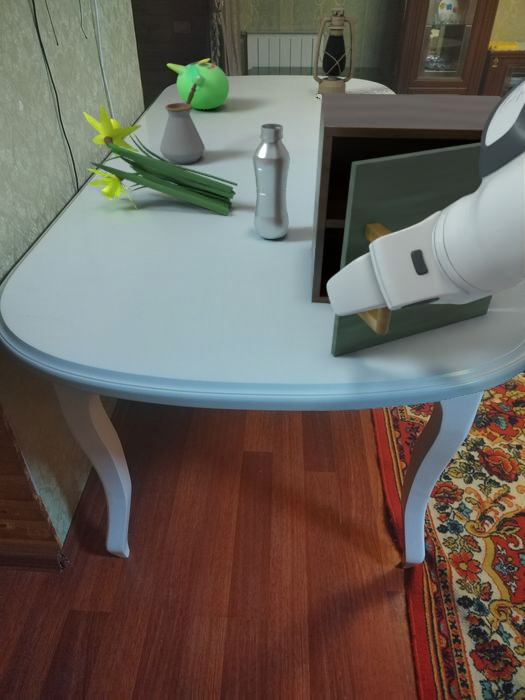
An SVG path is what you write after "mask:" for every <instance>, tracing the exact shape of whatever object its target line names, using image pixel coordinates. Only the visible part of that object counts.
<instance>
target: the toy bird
mask: <svg viewBox="0 0 525 700" xmlns="http://www.w3.org/2000/svg"><path fill="white" fill-rule="evenodd" d="M209 61H211V58H205V59H202V60H199V61H194V62H191V63H189V64H187V65H182V64H181V65H180V64H176V63H167V64H166V66H167V67H168V68H169V69H170V70H172V71H173V72H175V73H177V74H178V75H177V78H176V79H177V80H176V89H177V93H178V95H179V96H180V99H181V100H182V101H183V103H187V99H188V96H189V93H190V92H191V88H192V86H193V85H194V84H195V83H196V84H197V85H199V86H200V87H199V86H196V88H195V89H196V90H199V89H200V90H199V91H195V92H194V97H193V99H192V101H191V103H190V105H191V106H192V109H197V110H201V109H203V111H204V110H205V109H207V110H213V109H215V108H218V107H219V106H221V105H222V104H223V103H224V102H225V101H226V99H227V97H228V95H229V92H230V82H229V79H228V77H227V74H226V73H225V72H224V71H223V69H222V68H221V67H219V66H218V65H216V64H215V63H212V62H209ZM205 111H206V110H205Z"/></svg>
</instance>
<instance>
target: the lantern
mask: <svg viewBox="0 0 525 700" xmlns="http://www.w3.org/2000/svg"><path fill="white" fill-rule="evenodd" d="M342 1H343V0H341V1H340V4H342ZM330 11H331V15H330V16H327V17H324V18H323V17H321V16H319V17H318V18H317V22H318V25H319V26H318V28H317V32H316V38H317V39H316V44H315V50H314V60H313V69H312V72H313V73H312V77H313V80H314V81H315V82H316V83H318V89H317V92H318V93H317V92H316V93H317V94H321V95H322V93H345V92H346V87H347V85H346V83H348V82H349V81H351V80H352V79H353V76H354V70H355V54H356V53H355V48H356V47H355V45H356V41H355V40H356V39H355V38H356V37H355V34H356V33H357V25H358V24H357V23H358V21H359V19H358V17H357V15H356V16H354V17H352V18H351V17H349V16H345V11H347V9H346V8H344V7H342V5H340V6H335V7H333V8H331V9H330ZM334 12H335V13H334ZM327 23H330V24H329V25H328V26H326V24H327ZM345 23H348V25H349V31H350V32H349V33H350V47H349V48H347V51H346V44H345V36H344V29H347V28H348V26H346V25H345ZM325 26H326V28H327V29H329V33H328V34H329V35H328V38H327V40H326V45H325V48H324V50H322V52H323V56H322V60H321V58H320V57H321V54H320V51H321V50H320V49H321V44H322V38H323V33H324V30H325V29H324V28H325ZM346 53H347V54H346ZM349 55H350V56H349ZM348 56H349V72H348V76H346V77H345V78H342V76H344V75H345V74H346V72H344V71H345V69H346V65H347V58H348ZM319 61H320V62H321V63H322V70H323V72H324V73H325V77H324V75H323V74H322V73H323V72H318V68H319ZM343 72H344V74H343ZM319 74H321V75H322V77H323V78H320V77H319V76H318V75H319ZM340 76H341V77H340Z"/></svg>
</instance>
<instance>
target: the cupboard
mask: <svg viewBox="0 0 525 700" xmlns="http://www.w3.org/2000/svg"><path fill="white" fill-rule="evenodd" d="M502 98H503V97H501V96H500V95H465V94H463V95H461V94H460V95H458V94H408V93H407V94H405V93H404V94H403V93H352V92H351V93H349V92H346V93H322V99H320V100H321V101H320V115H319V116H320V117H319V129H318V131H319V132H318V143H317V144H318V147H317V160H316V161H317V162H316V177H315V190H314V194H315V195H314V205H313V220H312V235H311V249H310V250H311V252H310V253H311V254H310V255H311V258H310V259H311V260H310V261H311V264H310V265H311V267H310V268H311V269H310V270H311V271H310V274H311V275H310V276H311V279H310V287H311V289H310V291H311V292H310V293H311V294H310V297H311V298H310V299H311V300H310V302H311V304H312V303H314V304H331V303H330V300H329V296H328V292H327V283H328V281H329V280H330V279H331V278H332V277H333V276H334V275H335V274H337V273H338V272H339V271H340V266H341V257H342V248H343V239H344V230H345V221H346V212H347V203H348V194H349V185H350V176H351V167H352V162H355V161H362V160H369V159H375V158H382V157H388V156H395V155H401V154H408V153H415V152H421V151H428V150H434V149H441V148H447V147H454V146H461V145H467V144H474V143H480V142H481V136H482V132H483V128H484V126H485V123H486V121H487V119H488V117H489V115H490V113H491V112H492V110H493V109H494V107H495V106H496V105H497V103H498V102H499V101H500V100H501V99H502Z"/></svg>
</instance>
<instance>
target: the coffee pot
mask: <svg viewBox="0 0 525 700" xmlns="http://www.w3.org/2000/svg"><path fill="white" fill-rule="evenodd" d="M196 86H199V85H197V84H196V83H195V84H194V85H193V86H192V88H191V92H190V93H189V96H188V99H187V103H185V102H174V103H169V104H167V105H165V107H164V108H165V110H167V114H168V118H167V121H166V125H165V128H164V132H163V136H162V139H161V143H160V145H159V151H160V153H161V155H162V156H163V157H164V158H165V160H168V162H170V163H172V164H175V165H185V164H186V165H187V164H188V165H189V164H192V163H195V162H197V161H198V160H199V158H201V157H202V155H203V154H204V152H205V150H206V147H205V143H204V142H203V140H202V137H201V135H200V134H199V131H198V129H197V128H196V125H195V123H194V121H193V119H192V117H191V115H190V114H191V111H192V109H193V107H192V106H191V105H190V103H191V101H192V99H193V97H194V92H195V91H199V90H200V89H199V90H196V89H195V88H196ZM199 87H200V86H199Z"/></svg>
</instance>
